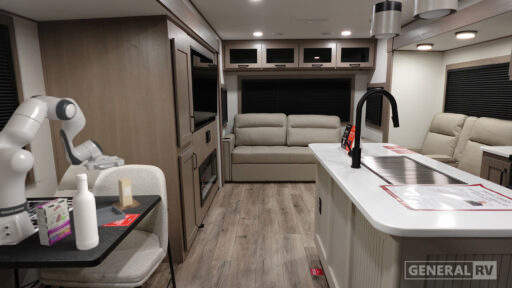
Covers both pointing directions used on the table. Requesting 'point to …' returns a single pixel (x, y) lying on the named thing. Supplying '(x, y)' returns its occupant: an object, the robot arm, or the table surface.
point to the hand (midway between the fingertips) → (109, 166)
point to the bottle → (84, 215)
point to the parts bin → (109, 215)
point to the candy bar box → (53, 221)
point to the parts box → (125, 191)
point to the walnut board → (120, 207)
